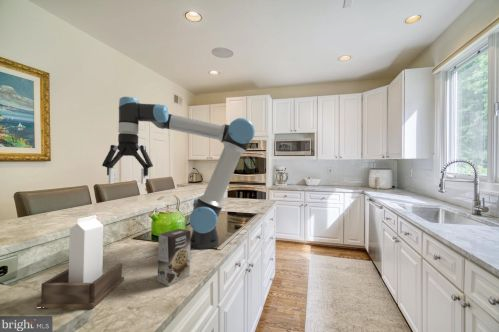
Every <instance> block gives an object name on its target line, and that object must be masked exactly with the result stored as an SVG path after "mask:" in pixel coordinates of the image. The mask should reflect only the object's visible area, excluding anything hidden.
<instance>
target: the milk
mask: <svg viewBox="0 0 499 332" xmlns="http://www.w3.org/2000/svg"><path fill="white" fill-rule="evenodd" d="M97 218H98V216H97V214H94V215H90V216H84V217H80V218H79V217H78V218H77V219H76V224H74V226H72V227H70V228H69V249H68V252H69V253H68V256H69V257H68V269H69V282H68V283H92V282H94V281H95V280H96V279H98V278H99V277H100V276H102V275H103V262H104V261H103V260H104V259H103V257H104V255H103V253H104V252H103V251H104V224H102V223H101V222H100V221H99V220H98V219H97Z"/></svg>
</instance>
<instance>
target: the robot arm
mask: <svg viewBox="0 0 499 332" xmlns="http://www.w3.org/2000/svg"><path fill="white" fill-rule="evenodd" d="M118 103H119V104H118V133H119V134H118V136H117V137H118V138H117V141H118V145H115V144H111V145H110V147H109V151H108V153H107V155H106V157H105V159H104V161H103V163H102V164H101V166H102V167H105V168H106V175H107V176H108V184H110V185H111V184H115V171H116V170H115V168H114V167H115V165H116V164H117V163H118V162H119V161H120V160H121V159H122V158H123V157H125V156H126V157H128V156H129V157H130V156H131V157H134V158H135V159H136V161H137V162H138V163H139V164H140V165H141V167H142V168H141V171H140V173H141V175H140V177H141V178H140V179H141V181H140V184H141V185H144V184H146V183H147V177H148V175H149V169H150V168H152V167H154V164H153V163H152V161H151V159H150V156H149V154H148V152H147V147H146V145H144V144H143V145H139V135H138V134H139V127H140V126H139V122H148V123H149V122H151V123H152V124H153V125H154V126H155V127H156V128H158V129H161V130H163V129H167V130H170V131H171V130H172V131H176V132H182V133H186V134H190V135H196V136H200V137H204V138H208V139H213V140H218V141H219V143H222V144H223V149H222V152H221V154H220V156H219V158H218V160H217V162H216V165H215V166H214V170H213V172H212V175H211V176H210V179H209V181H208V183H207V186H206V188H205V190H204V192H203V194H202V195H201V196H198V198H196V199H194V200H193V203H192V207H193V210H192V211H191V213H190V214H189V224H190V227H191V229H192V231H191V233H190V248H193V249H199V250H205V249H206V250H207V249H213V248H215V247H218V246H219V245H220V236H219V233H218V230H217V223H218V220H219V216H220V214H221V211H222V209H223V204H222V201H223V198H224V195H225V193H226V191H227V188H228V186H229V184H230V182H231V180H232V177H233V174H234V172H235V170H236V168H237V165H238V163H239V160H240V158H241V156H242V155H243V154H245V153H246V152H247V149H248V148H249V145H250V143H251V141H252V140H253V139H254V137H255V132H256V130H255V126H254V124H253V123H252V122H251V120H249V119H248V118H244V117H239V118H236V119H234V120H232V121H231V122H230V124H225V123H224V124H222V125H220V124H217V123H212V122H208V121H202V120H199V119H195V118H190V117H186V116H181V115H176V114H171V113H169V107H167V105H165V104H159V103H156V104H154V103H140V101H139V99H137V98H136V97H131V96H121V97H120V98H119V101H118ZM138 150H139V151H140V153H141V155H142V156H140V153H139V152H138ZM116 152H117V153H116ZM115 154H116V155H115ZM142 157H143V158H142Z"/></svg>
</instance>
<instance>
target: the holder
mask: <svg viewBox="0 0 499 332" xmlns="http://www.w3.org/2000/svg"><path fill="white" fill-rule="evenodd" d="M122 274H123V263H122V262H118V263H116V265H114V266H113V267H111V268H110V269H109V270H108V271H106V272H104V273H102V276H100V277H99V278H98V279H96V280H95V281H94V282H92V283H68V282H69V268H68V269H66V270H63V271H62V272H59V273H58V274H57V275H54V276H53V277H52V278H49V279H48V280H46V281H44V282H43V283H41V290H40V291H41V293H40V295H41V296H40V298H41V299H40V302H38V303H36V308H37V307H41V308H43V307H44V308H76V309H75V310H87V309H88V310H89V309H91V310H92V309H94V308H96V307H97V306H98V305H99V304H101V302H102V301H103V300H104V299H105V298H106V297H108V296H109V295H110V294H111V293H112V292H113V291H114V290H116V289H117V288H118V287H119V286H120V285H121V284H122V283H123V282H124V281H125V277H124V276H123V275H122Z"/></svg>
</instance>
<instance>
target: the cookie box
mask: <svg viewBox="0 0 499 332" xmlns="http://www.w3.org/2000/svg"><path fill="white" fill-rule="evenodd" d="M191 233H192V231H191V230H189V229H183V228H176V229H174V230H169V231H165V232H161V233H158V251H157V282H158V283H161V284H163V285H165V286H167V287H171V286H172V285H175V284H176V283H178V282H179V281H182V280H183V279H185V278H187V277H189V276H190V274H191V273H190V272H191V271H190V270H191V268H190V267H191V264H190V263H191V247H190V237H191Z"/></svg>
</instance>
